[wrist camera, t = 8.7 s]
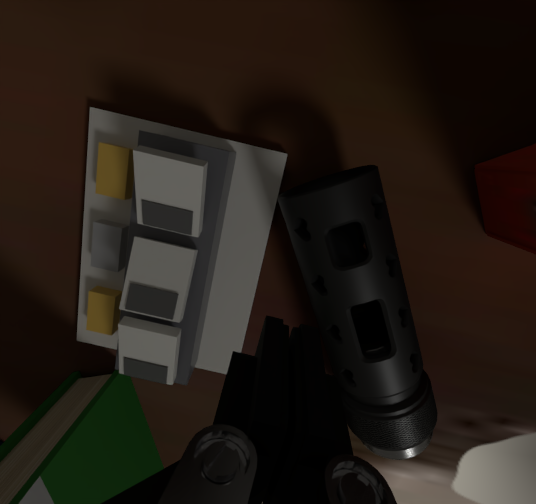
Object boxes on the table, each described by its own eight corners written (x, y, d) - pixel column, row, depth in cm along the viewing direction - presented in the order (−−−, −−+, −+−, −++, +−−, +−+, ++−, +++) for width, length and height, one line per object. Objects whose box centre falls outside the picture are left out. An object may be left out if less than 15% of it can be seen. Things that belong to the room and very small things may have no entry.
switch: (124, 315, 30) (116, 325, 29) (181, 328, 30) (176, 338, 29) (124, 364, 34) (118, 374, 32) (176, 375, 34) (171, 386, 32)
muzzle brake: (363, 162, 33) (397, 164, 23) (416, 381, 40) (460, 456, 30) (275, 191, 34) (271, 205, 24) (342, 399, 41) (360, 475, 31)
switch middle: (139, 236, 30) (133, 236, 28) (198, 249, 30) (194, 250, 28) (124, 306, 30) (117, 309, 28) (182, 319, 30) (178, 323, 29)
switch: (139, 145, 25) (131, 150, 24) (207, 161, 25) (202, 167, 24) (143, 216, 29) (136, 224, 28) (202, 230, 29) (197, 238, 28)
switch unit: (96, 108, 32) (54, 97, 26) (287, 154, 32) (288, 153, 27) (82, 335, 40) (47, 366, 34) (236, 369, 40) (228, 406, 34)
